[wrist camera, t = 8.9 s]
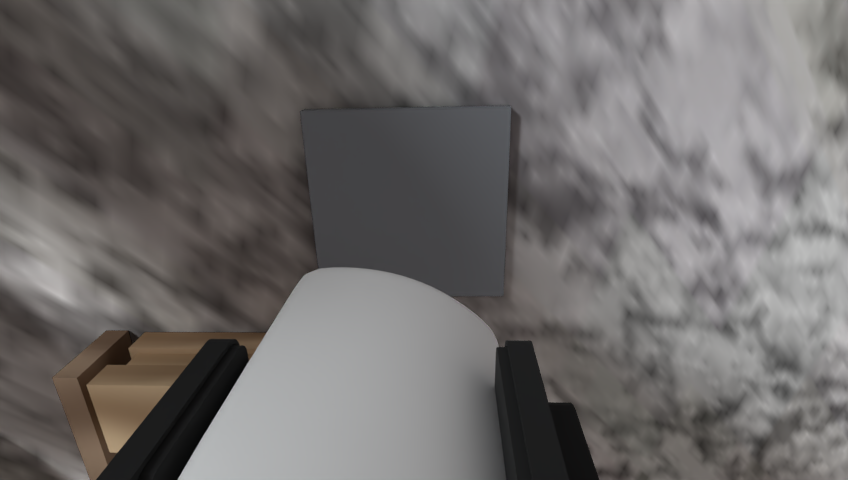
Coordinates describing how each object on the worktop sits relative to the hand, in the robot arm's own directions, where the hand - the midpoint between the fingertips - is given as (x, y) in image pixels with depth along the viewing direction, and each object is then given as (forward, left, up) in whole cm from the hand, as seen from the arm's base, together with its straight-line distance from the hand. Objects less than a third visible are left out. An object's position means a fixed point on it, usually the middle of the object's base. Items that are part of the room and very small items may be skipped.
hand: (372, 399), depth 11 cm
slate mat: (0, 0, -13) cm, 13 cm away
